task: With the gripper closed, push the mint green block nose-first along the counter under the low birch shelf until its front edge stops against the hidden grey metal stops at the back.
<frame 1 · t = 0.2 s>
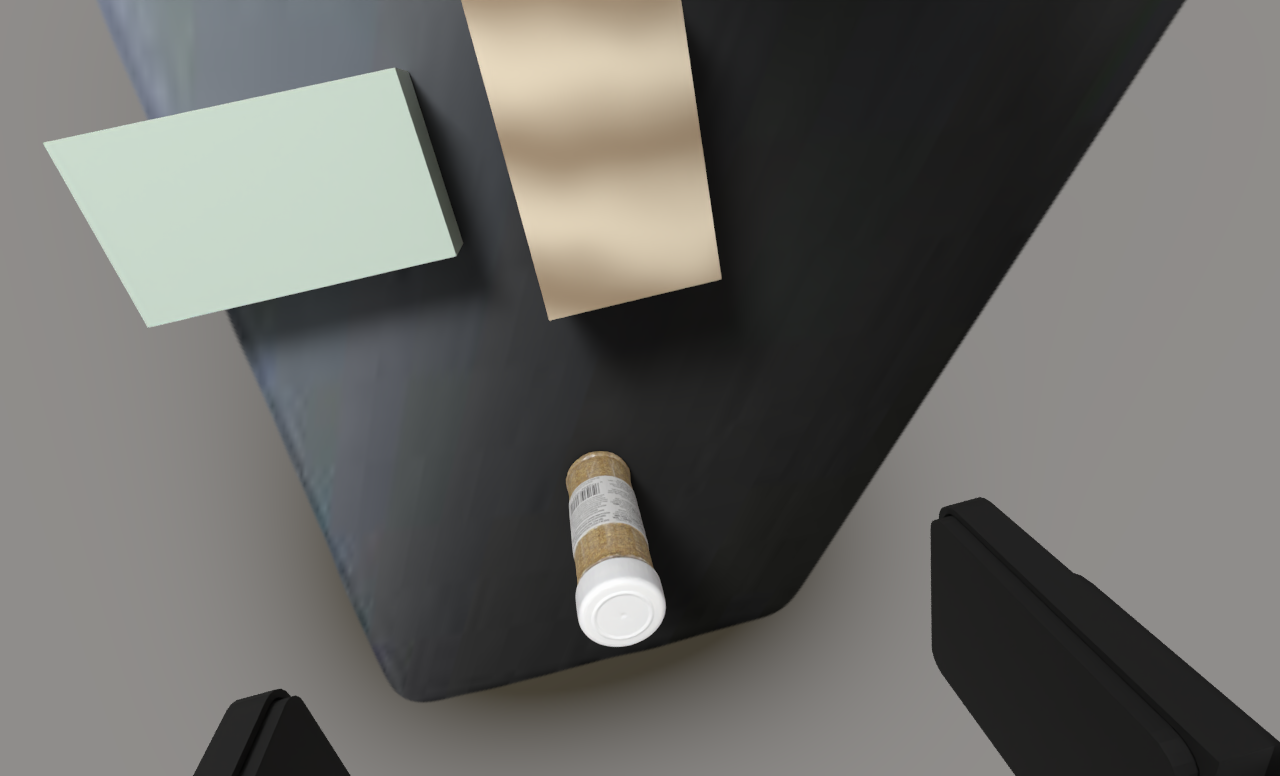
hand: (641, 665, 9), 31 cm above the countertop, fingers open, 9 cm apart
sprinkles bottle: (598, 474, 44), on the countertop
mint green block: (290, 194, 34), on the countertop
birch shelf: (589, 128, 35), on the countertop
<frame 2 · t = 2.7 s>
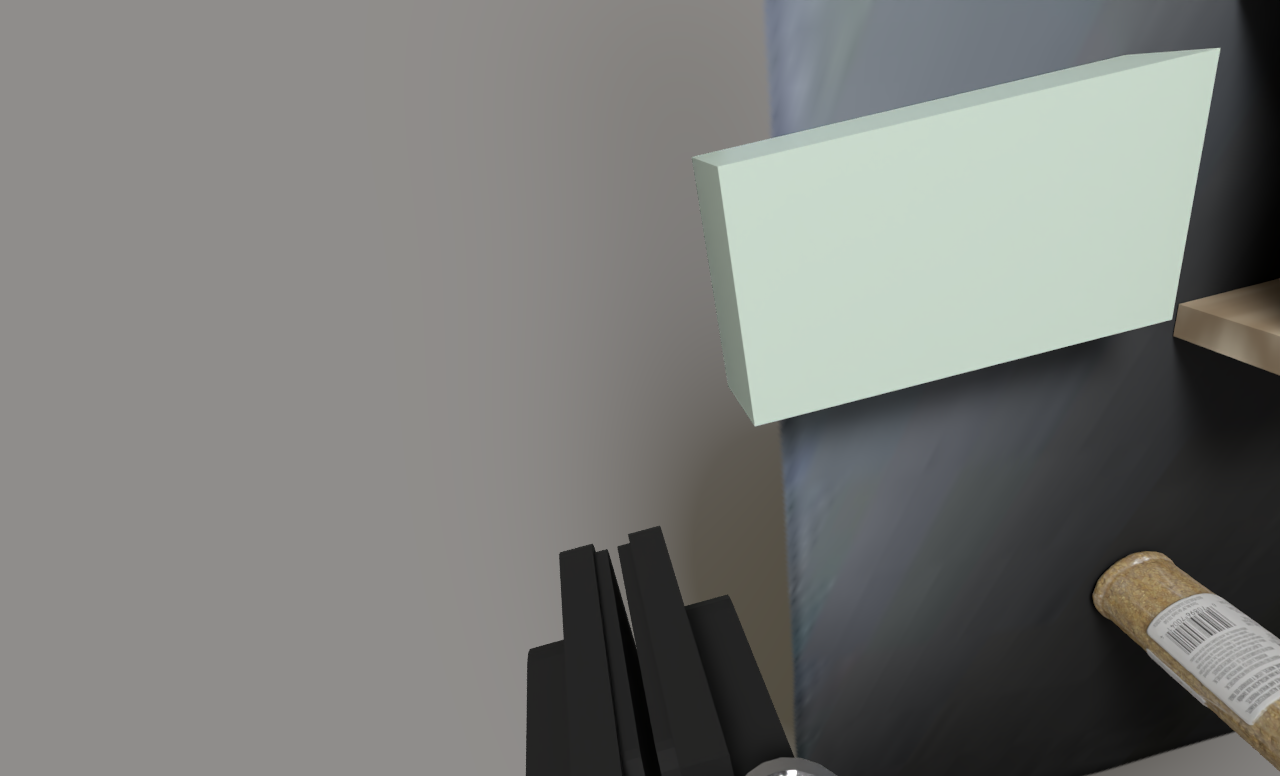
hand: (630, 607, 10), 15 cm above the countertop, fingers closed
sprinkles bottle: (1125, 577, 34), on the countertop
mint green block: (913, 231, 24), on the countertop
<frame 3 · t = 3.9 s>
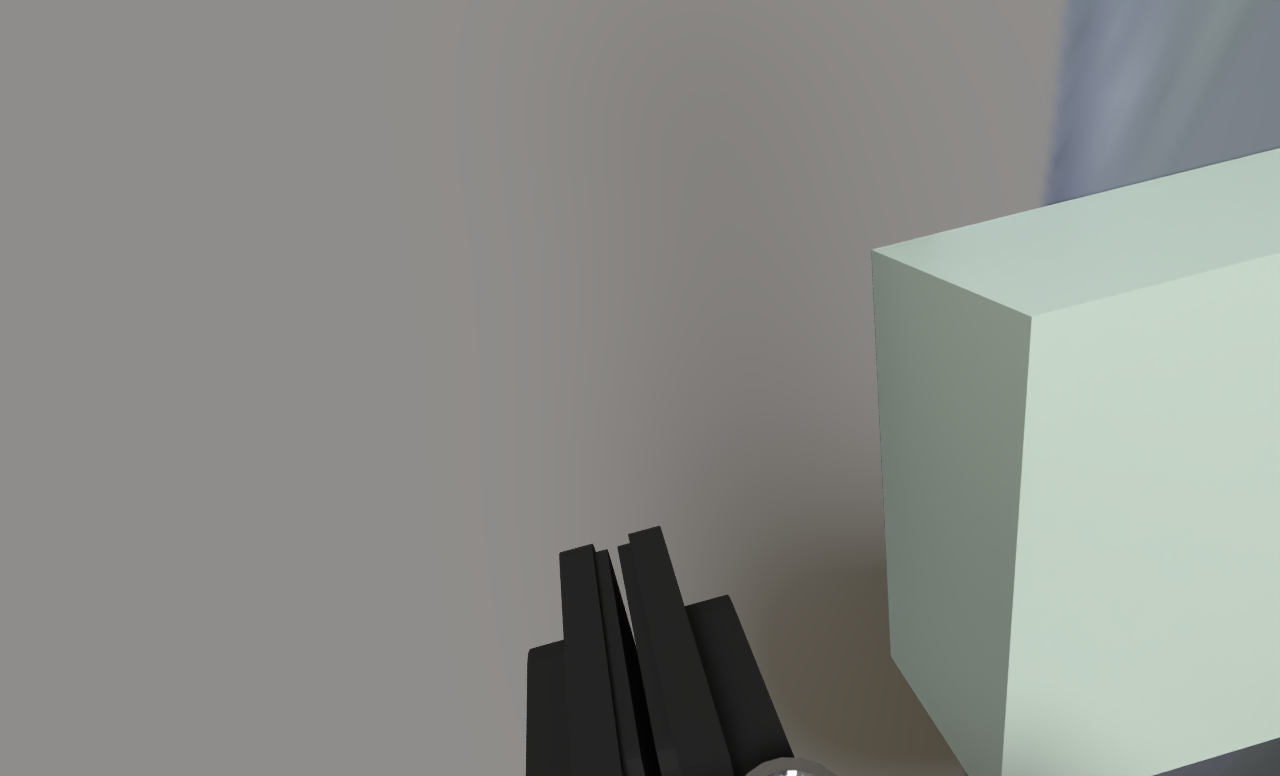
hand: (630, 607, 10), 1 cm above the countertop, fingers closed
mint green block: (1276, 379, 12), on the countertop
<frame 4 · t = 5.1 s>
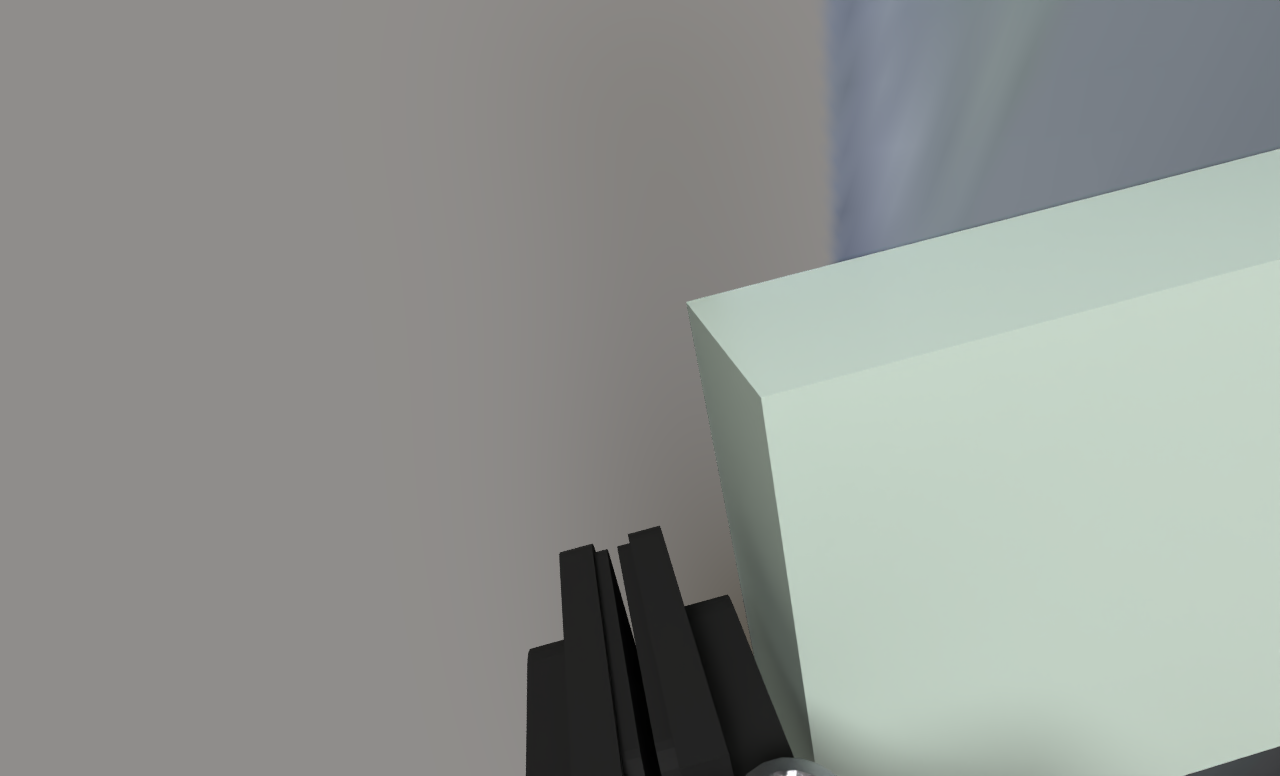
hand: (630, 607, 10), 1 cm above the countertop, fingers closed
mint green block: (1138, 421, 12), on the countertop, touching gripper
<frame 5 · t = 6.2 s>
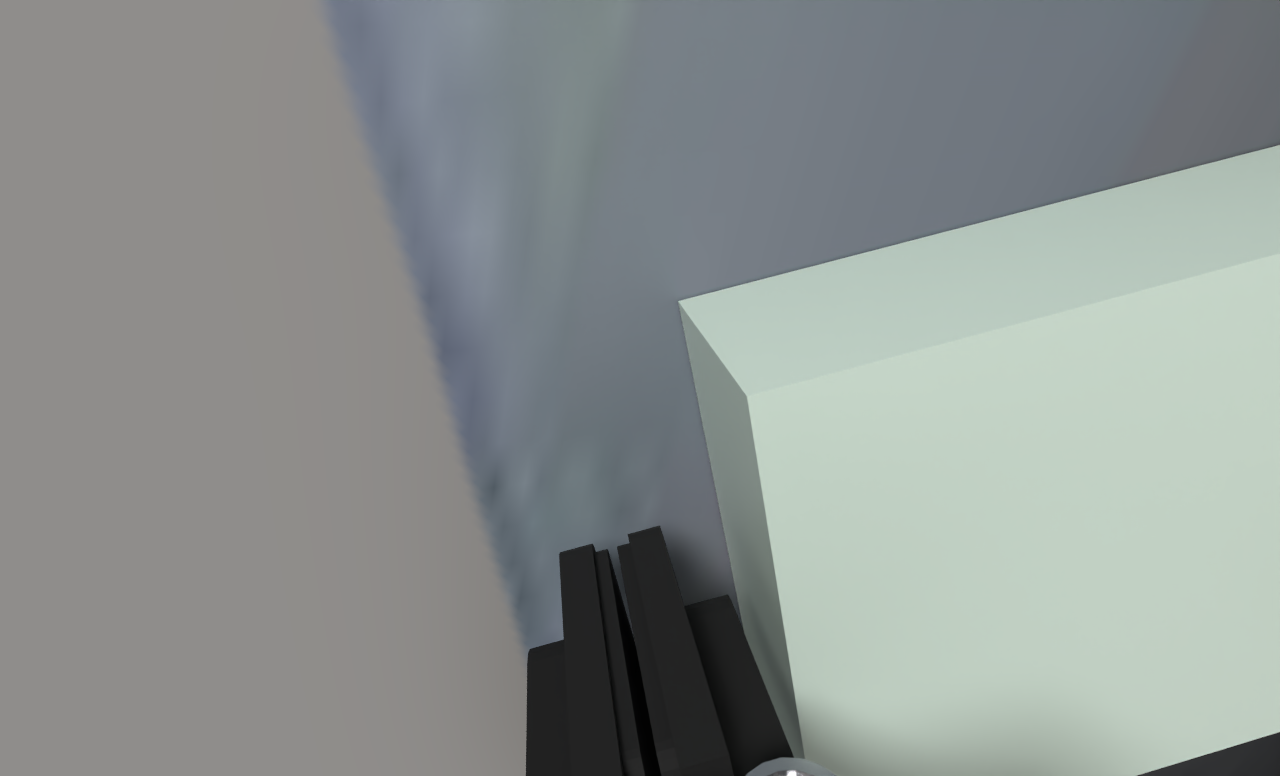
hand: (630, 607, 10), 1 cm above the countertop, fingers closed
mint green block: (1127, 417, 12), on the countertop, touching gripper
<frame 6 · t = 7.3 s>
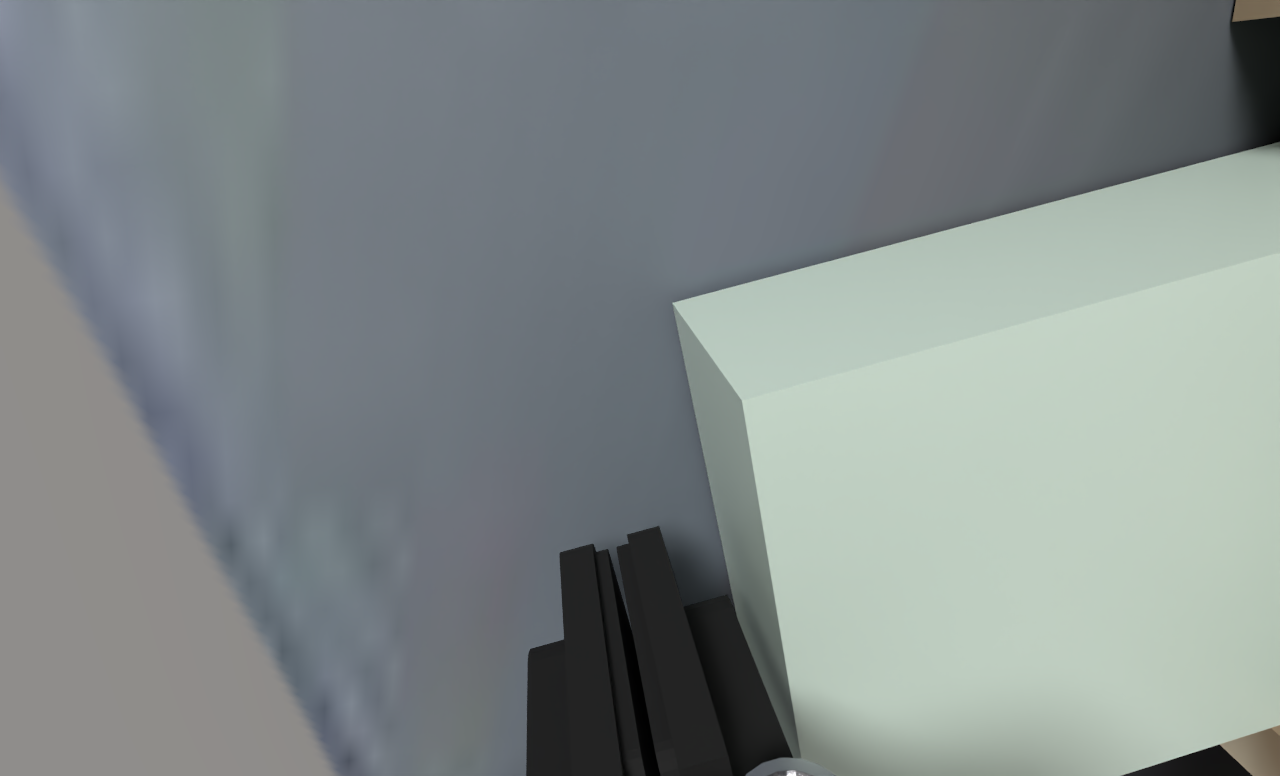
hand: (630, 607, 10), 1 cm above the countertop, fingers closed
mint green block: (1120, 416, 12), on the countertop, touching birch shelf, gripper
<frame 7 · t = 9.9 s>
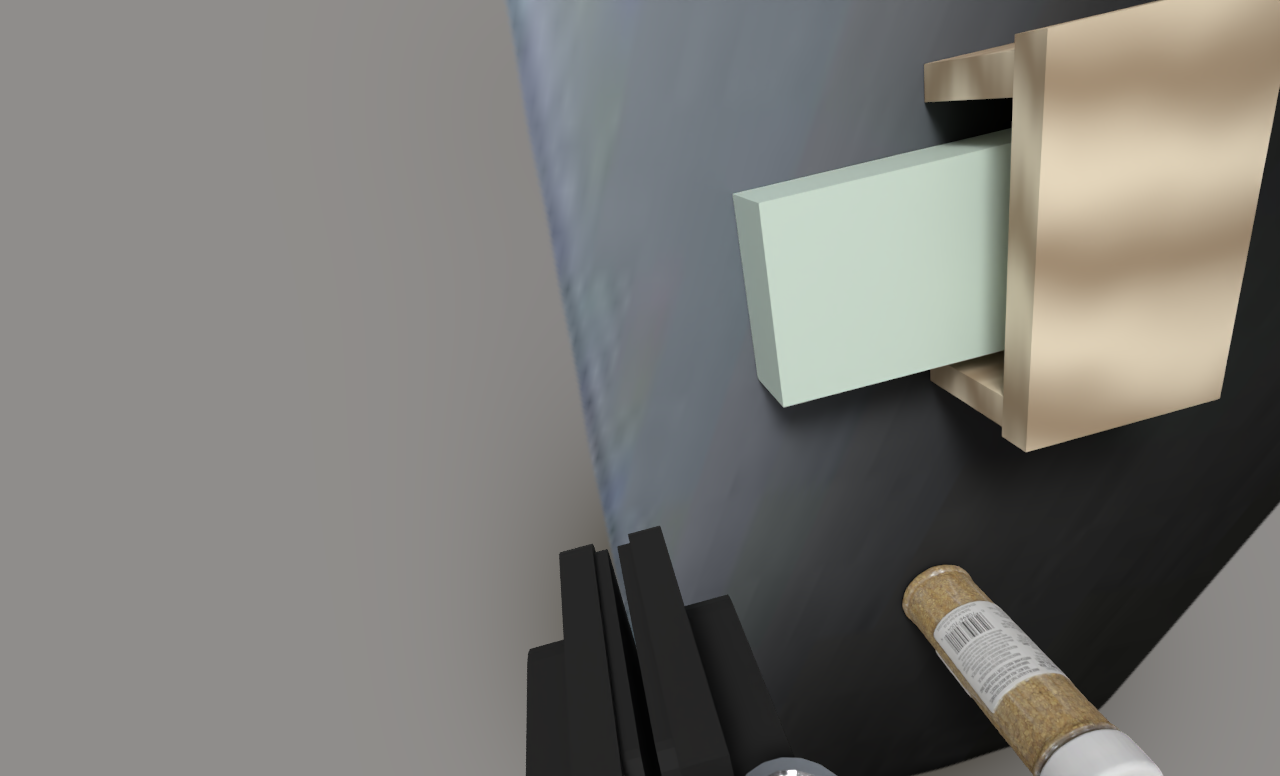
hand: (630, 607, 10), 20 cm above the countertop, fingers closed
sprinkles bottle: (932, 588, 39), on the countertop
mint green block: (907, 252, 30), on the countertop
birch shelf: (1016, 216, 30), on the countertop
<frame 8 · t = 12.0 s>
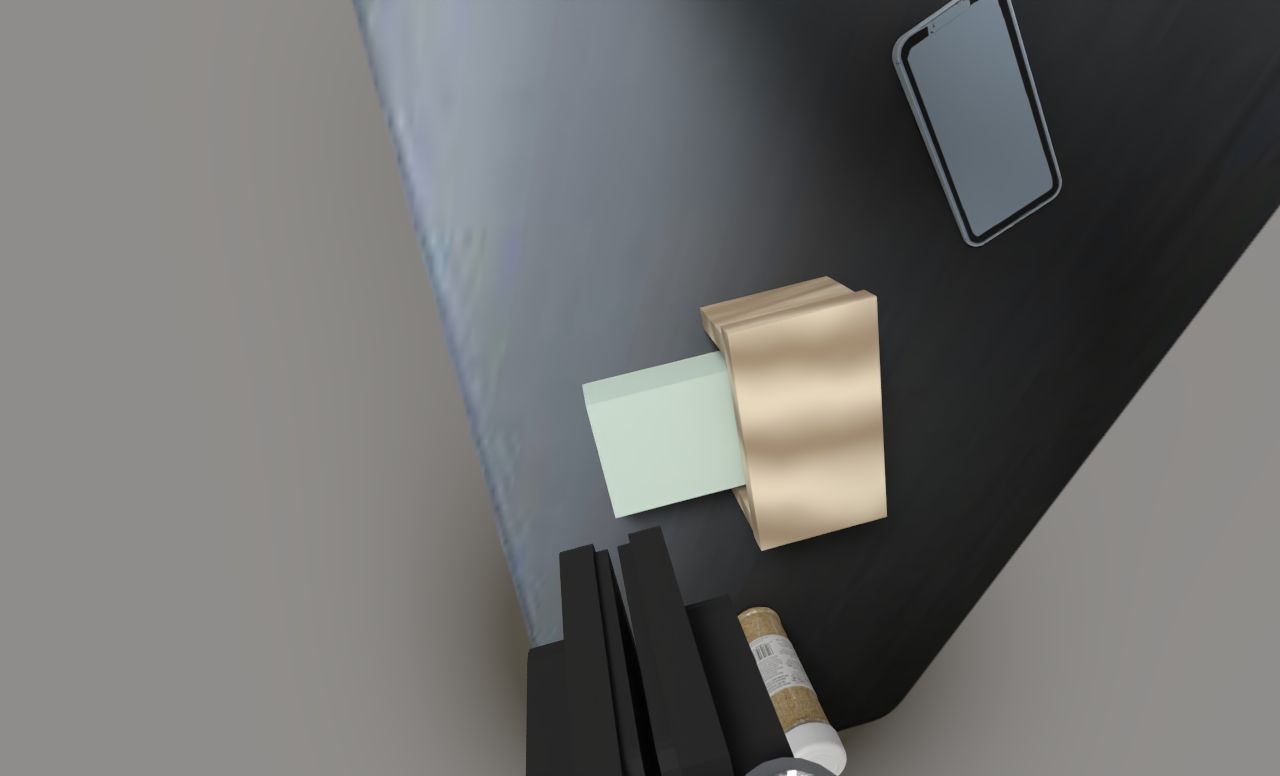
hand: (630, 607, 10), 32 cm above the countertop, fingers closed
sprinkles bottle: (753, 622, 55), on the countertop
smartphone: (974, 123, 41), on the countertop
mint green block: (703, 412, 46), on the countertop
birch shelf: (775, 389, 46), on the countertop
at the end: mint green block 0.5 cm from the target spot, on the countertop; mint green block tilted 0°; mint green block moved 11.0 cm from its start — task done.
